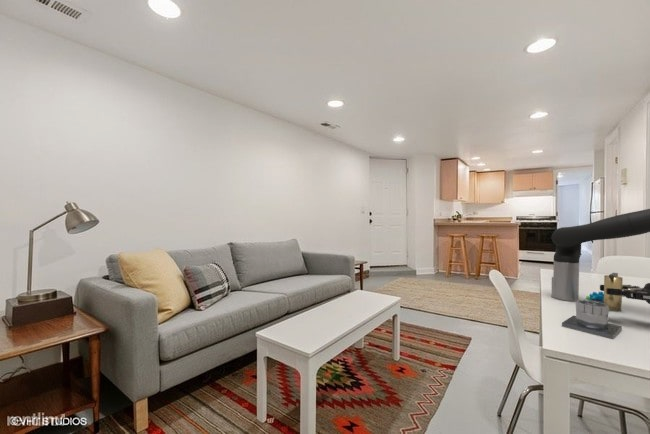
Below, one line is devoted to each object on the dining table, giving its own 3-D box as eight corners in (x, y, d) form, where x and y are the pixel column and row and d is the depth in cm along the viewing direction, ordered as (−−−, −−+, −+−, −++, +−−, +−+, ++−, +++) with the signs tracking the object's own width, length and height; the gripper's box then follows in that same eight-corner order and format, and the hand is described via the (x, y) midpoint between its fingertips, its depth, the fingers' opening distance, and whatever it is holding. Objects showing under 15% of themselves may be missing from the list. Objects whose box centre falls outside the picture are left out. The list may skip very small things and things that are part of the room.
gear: (626, 306, 121) (616, 291, 118) (624, 319, 118) (614, 303, 115) (592, 303, 130) (582, 288, 128) (589, 314, 128) (579, 300, 125)
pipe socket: (561, 326, 104) (562, 301, 103) (573, 318, 111) (573, 296, 111) (612, 339, 93) (613, 312, 93) (621, 329, 101) (622, 304, 101)
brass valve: (601, 309, 109) (602, 273, 108) (605, 305, 113) (607, 271, 112) (619, 312, 105) (620, 276, 104) (623, 309, 109) (624, 274, 109)
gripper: (654, 280, 109) (595, 275, 116) (681, 289, 96) (613, 283, 103) (653, 300, 109) (594, 294, 116) (680, 312, 96) (612, 304, 103)
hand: (603, 289), depth 110 cm, fingers closed on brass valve, 4 cm apart
